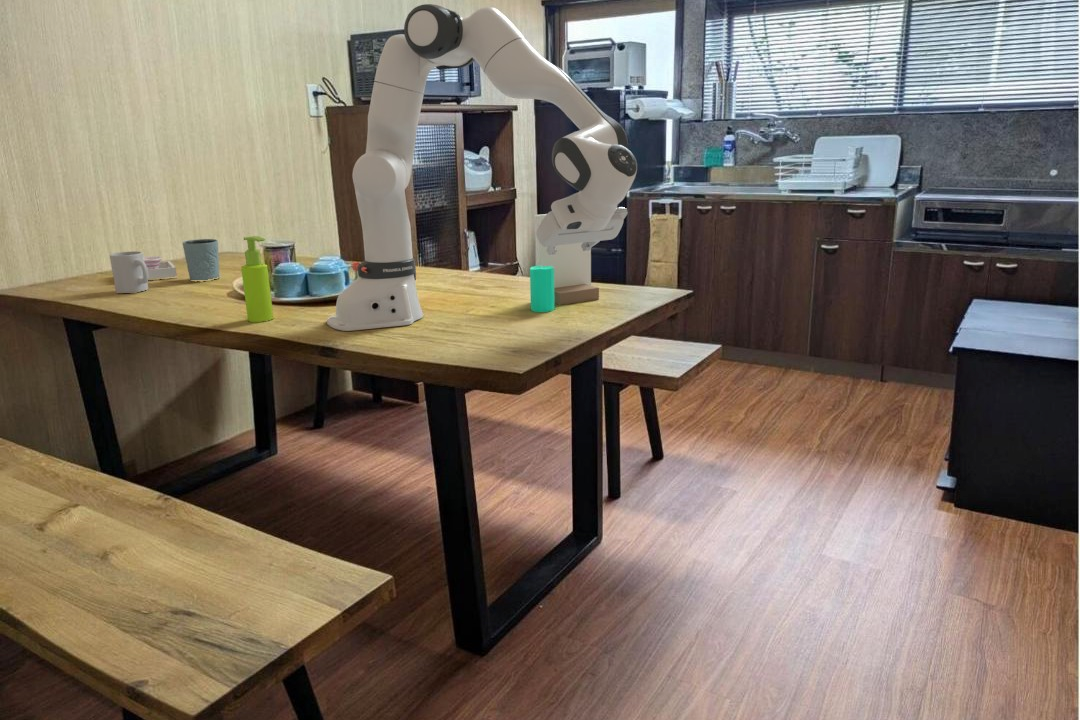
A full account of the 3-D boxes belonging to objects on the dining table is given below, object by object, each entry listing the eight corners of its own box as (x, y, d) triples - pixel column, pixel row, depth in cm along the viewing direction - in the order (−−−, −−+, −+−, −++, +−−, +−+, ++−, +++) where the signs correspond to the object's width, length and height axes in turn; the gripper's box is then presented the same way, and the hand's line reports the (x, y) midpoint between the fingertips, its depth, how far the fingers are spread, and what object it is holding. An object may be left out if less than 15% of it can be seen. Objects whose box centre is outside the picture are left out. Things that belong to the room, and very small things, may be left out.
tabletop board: (553, 306, 197) (551, 217, 191) (536, 300, 204) (534, 215, 197) (605, 298, 205) (605, 213, 198) (587, 293, 211) (587, 210, 205)
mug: (109, 292, 226) (102, 255, 223) (136, 287, 233) (129, 250, 230) (136, 296, 220) (130, 257, 217) (163, 290, 228) (157, 252, 224)
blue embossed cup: (204, 276, 249) (199, 238, 246) (230, 277, 246) (225, 239, 242) (180, 282, 240) (174, 242, 237) (207, 283, 237) (201, 243, 233)
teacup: (151, 273, 257) (148, 254, 255) (180, 275, 253) (177, 256, 251) (121, 280, 246) (117, 260, 244) (150, 282, 242) (147, 262, 240)
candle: (552, 312, 190) (551, 263, 187) (528, 311, 191) (527, 263, 188) (556, 307, 196) (556, 259, 192) (533, 306, 197) (532, 259, 194)
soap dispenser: (261, 323, 185) (251, 239, 179) (242, 320, 188) (231, 237, 183) (281, 318, 190) (271, 236, 184) (262, 315, 193) (252, 234, 187)
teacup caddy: (121, 284, 239) (119, 272, 238) (118, 276, 252) (116, 265, 251) (177, 278, 246) (175, 267, 245) (171, 271, 259) (169, 260, 258)
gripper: (624, 196, 175) (599, 235, 185) (546, 202, 165) (524, 243, 176) (636, 218, 172) (610, 257, 183) (557, 225, 162) (534, 266, 173)
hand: (567, 250), depth 179 cm, fingers open, 8 cm apart
